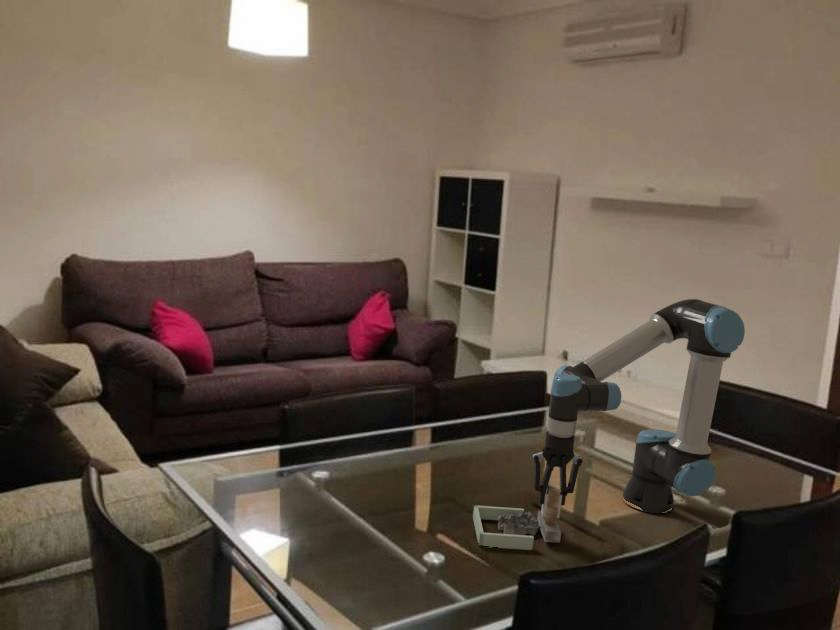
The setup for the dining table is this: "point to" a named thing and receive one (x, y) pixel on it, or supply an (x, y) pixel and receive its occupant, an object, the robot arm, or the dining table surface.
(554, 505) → the scraper
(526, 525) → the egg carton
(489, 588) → the dining table surface
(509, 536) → the box
